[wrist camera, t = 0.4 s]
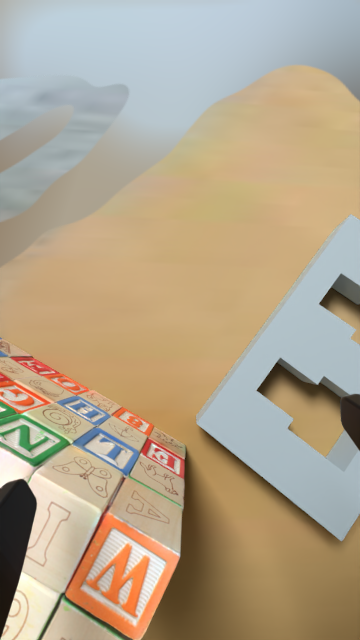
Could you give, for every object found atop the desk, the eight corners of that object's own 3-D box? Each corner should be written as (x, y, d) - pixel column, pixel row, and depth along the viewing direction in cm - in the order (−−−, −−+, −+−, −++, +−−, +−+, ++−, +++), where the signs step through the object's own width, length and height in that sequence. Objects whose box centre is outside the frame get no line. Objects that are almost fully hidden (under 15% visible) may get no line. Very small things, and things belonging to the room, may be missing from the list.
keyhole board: (333, 229, 23) (350, 214, 20) (459, 310, 21) (495, 304, 19) (196, 415, 21) (196, 423, 19) (322, 518, 20) (341, 541, 17)
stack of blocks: (-61, 386, 23) (-355, 418, 10) (-22, 323, 23) (-255, 285, 11) (151, 518, 20) (91, 758, 8) (189, 444, 21) (184, 563, 9)
